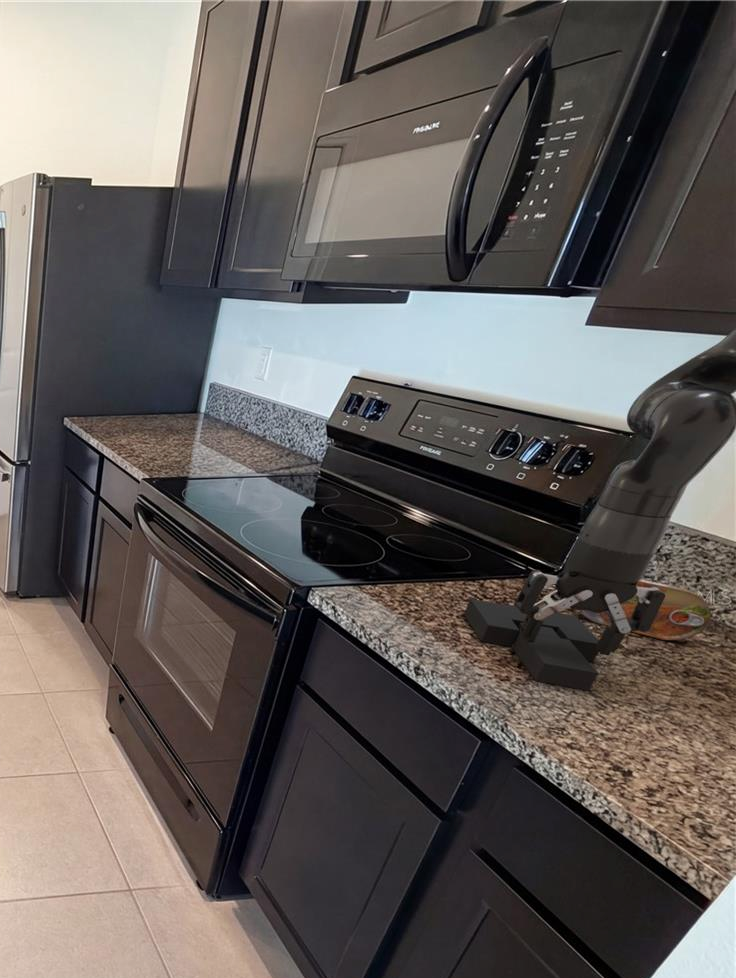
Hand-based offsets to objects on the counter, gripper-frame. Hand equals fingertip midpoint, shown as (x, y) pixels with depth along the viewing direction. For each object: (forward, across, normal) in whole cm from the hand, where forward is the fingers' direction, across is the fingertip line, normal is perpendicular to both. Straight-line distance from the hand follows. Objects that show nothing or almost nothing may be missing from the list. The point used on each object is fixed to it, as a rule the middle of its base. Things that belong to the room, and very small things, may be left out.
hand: (564, 646), depth 94 cm
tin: (+4, +17, +21) cm, 27 cm away
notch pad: (+4, 0, +10) cm, 11 cm away
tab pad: (+4, 0, +2) cm, 4 cm away
